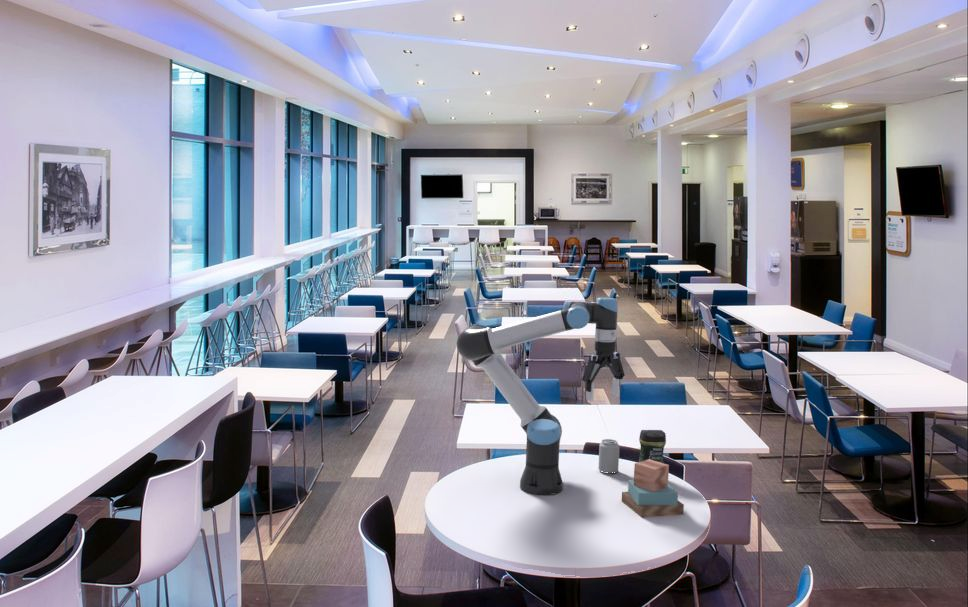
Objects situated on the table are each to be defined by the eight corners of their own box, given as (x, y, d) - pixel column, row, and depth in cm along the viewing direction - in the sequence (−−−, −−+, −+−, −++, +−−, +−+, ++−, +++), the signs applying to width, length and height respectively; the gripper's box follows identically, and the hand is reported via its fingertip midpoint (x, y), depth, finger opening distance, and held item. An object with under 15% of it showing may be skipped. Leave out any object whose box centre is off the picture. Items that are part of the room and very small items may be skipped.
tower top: (638, 505, 254) (638, 493, 253) (627, 491, 267) (628, 480, 266) (677, 505, 255) (678, 493, 254) (665, 491, 268) (665, 480, 267)
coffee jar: (641, 482, 287) (644, 433, 285) (634, 475, 295) (636, 427, 293) (666, 482, 288) (669, 432, 286) (658, 475, 296) (661, 427, 294)
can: (617, 475, 294) (619, 444, 293) (597, 473, 296) (599, 442, 295) (618, 469, 302) (619, 439, 300) (598, 467, 303) (600, 437, 302)
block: (653, 491, 255) (654, 469, 254) (633, 485, 261) (634, 463, 260) (667, 487, 261) (669, 465, 260) (648, 480, 266) (649, 459, 266)
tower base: (641, 519, 252) (642, 507, 252) (621, 503, 267) (622, 491, 266) (683, 516, 256) (683, 504, 256) (661, 500, 271) (661, 489, 270)
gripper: (589, 344, 272) (586, 404, 274) (636, 339, 288) (633, 396, 290) (573, 341, 278) (571, 400, 280) (620, 336, 293) (617, 392, 296)
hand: (602, 398), depth 285 cm, fingers open, 13 cm apart
